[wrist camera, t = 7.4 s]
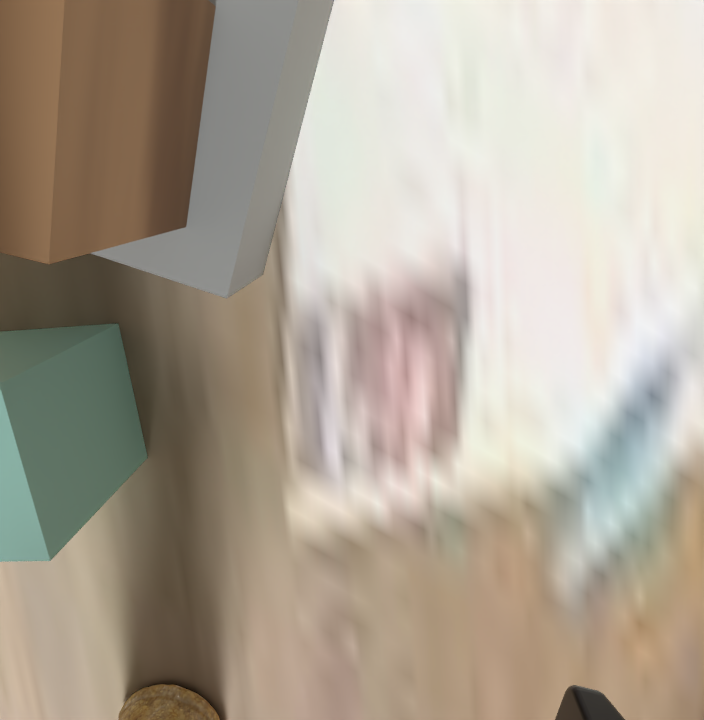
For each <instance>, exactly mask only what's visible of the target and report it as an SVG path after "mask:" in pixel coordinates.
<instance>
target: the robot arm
mask: <svg viewBox="0 0 704 720" xmlns="http://www.w3.org/2000/svg"><path fill="white" fill-rule="evenodd" d="M555 720H625V719H624V718H623V717H622V716H621V714H620V713H619V712H618V711H617V710H616V708H615V707H614V706H613V705H612V704H611V702H610V701H609V700H608V699H607V698H606V696H605V695H604V694H602V693H601V692H599V691H597V690H593V689H589V688H585V687H581V686H577V685H572V686H570V687H569V688H568V689H567V690H566V692H565V694H564V697H563V700H562V702H561V705H560V708H559V710H558V713H557V716H556V719H555Z"/></svg>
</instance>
